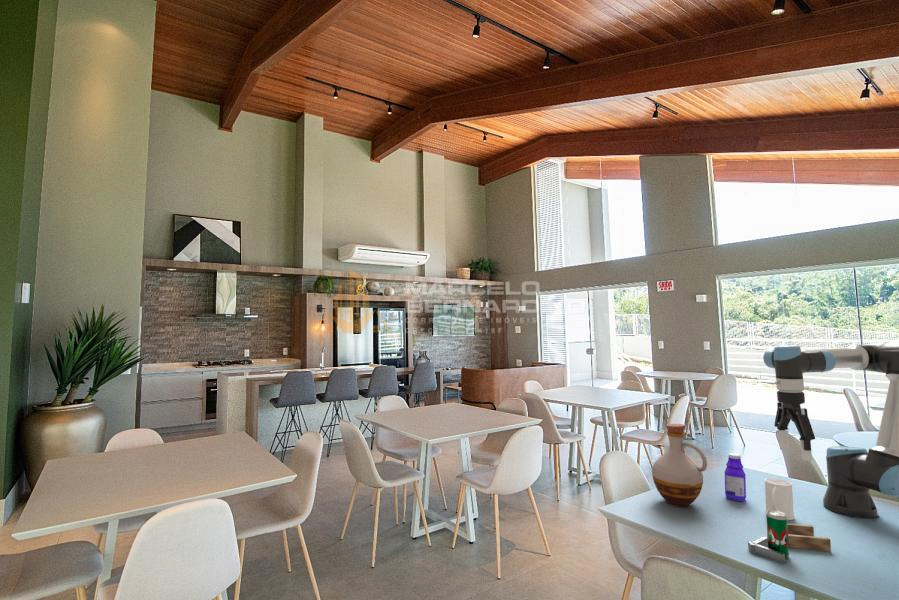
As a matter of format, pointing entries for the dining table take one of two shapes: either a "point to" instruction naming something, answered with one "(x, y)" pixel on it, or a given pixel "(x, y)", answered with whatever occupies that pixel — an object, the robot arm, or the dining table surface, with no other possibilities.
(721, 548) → the dining table surface
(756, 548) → the v block
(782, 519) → the soda can
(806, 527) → the guide channel
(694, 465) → the jug
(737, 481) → the bottle
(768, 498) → the mug
